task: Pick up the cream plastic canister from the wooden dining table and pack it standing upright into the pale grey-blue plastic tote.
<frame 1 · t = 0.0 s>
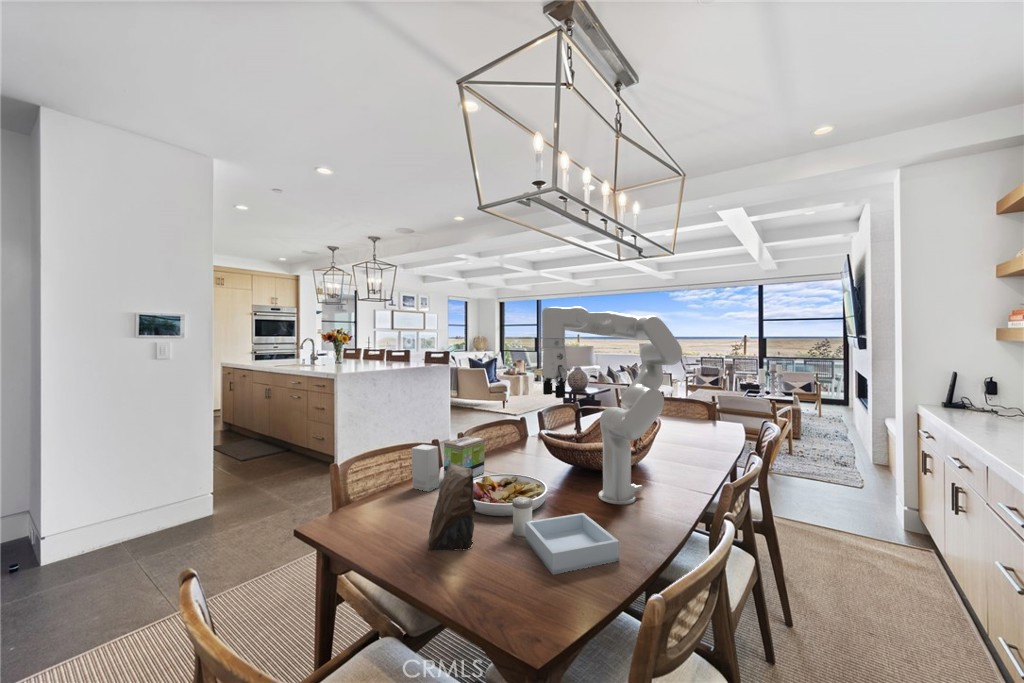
hand: (553, 396, 135), 37 cm above the table, tool pointing down, fingers open, 9 cm apart
tea box: (464, 476, 168), on the table
owl: (449, 542, 112), on the table
canister: (522, 531, 118), on the table
tote: (569, 550, 107), on the table
bowl: (503, 502, 141), on the table
skincare box: (425, 488, 154), on the table
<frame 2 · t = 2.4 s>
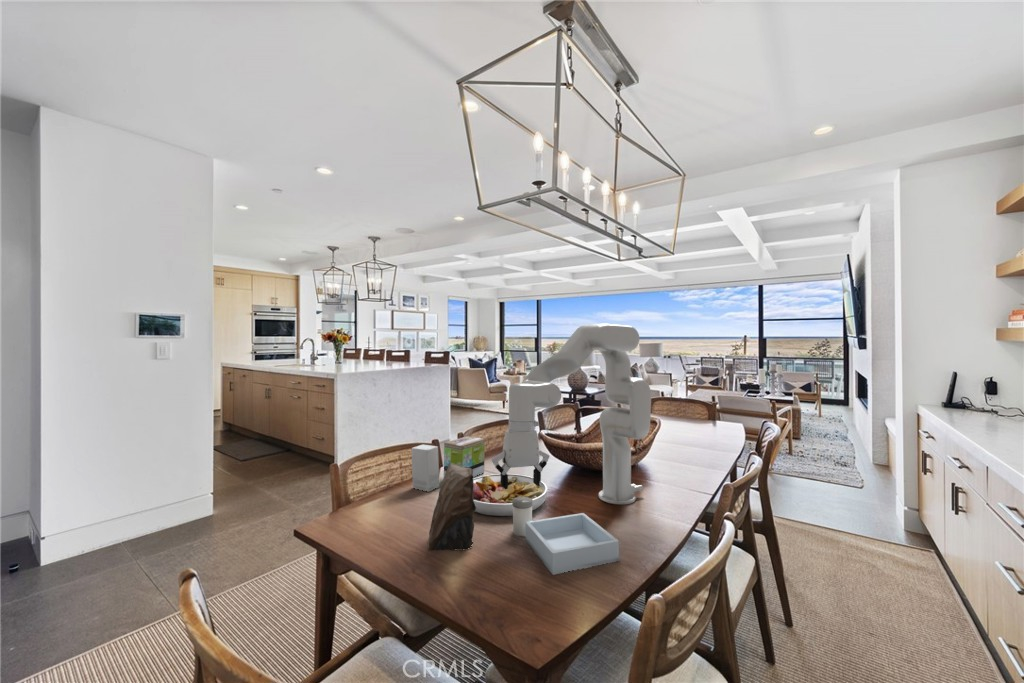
hand: (520, 486, 117), 13 cm above the table, tool pointing down, fingers open, 9 cm apart
nothing on the table moved.
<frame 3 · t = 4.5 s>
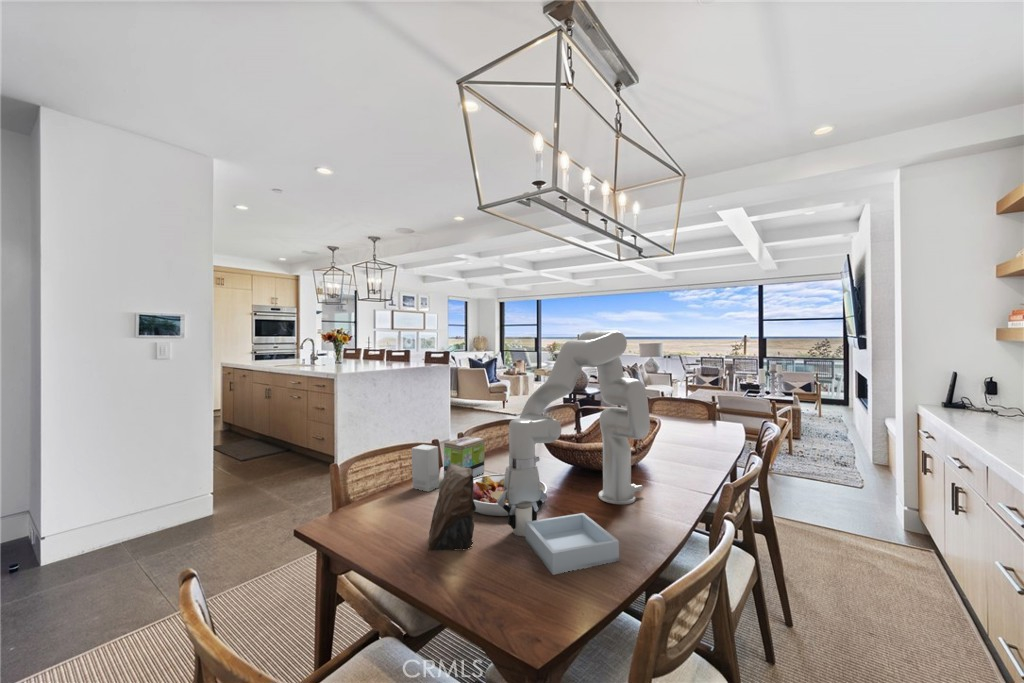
hand: (522, 524, 118), 2 cm above the table, tool pointing down, fingers closed on canister, 5 cm apart
canister: (522, 531, 118), on the table, touching gripper
everything else where it was.
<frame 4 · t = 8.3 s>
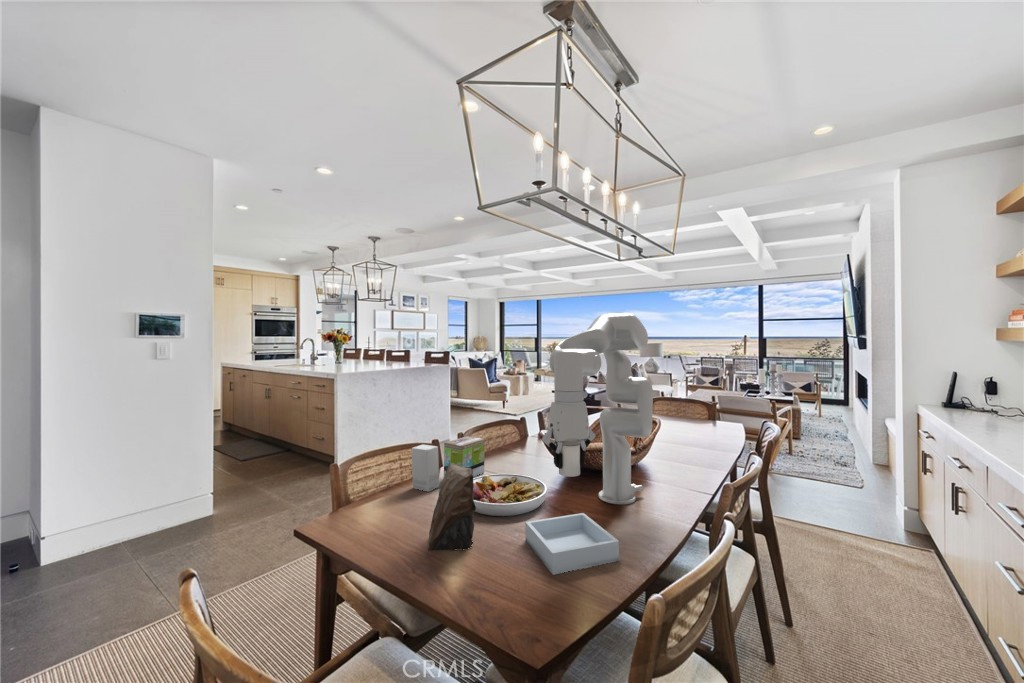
hand: (569, 465, 107), 22 cm above the table, tool pointing down, fingers closed on canister, 5 cm apart
canister: (569, 473, 107), point 20 cm above the table, touching gripper
everything else where it was.
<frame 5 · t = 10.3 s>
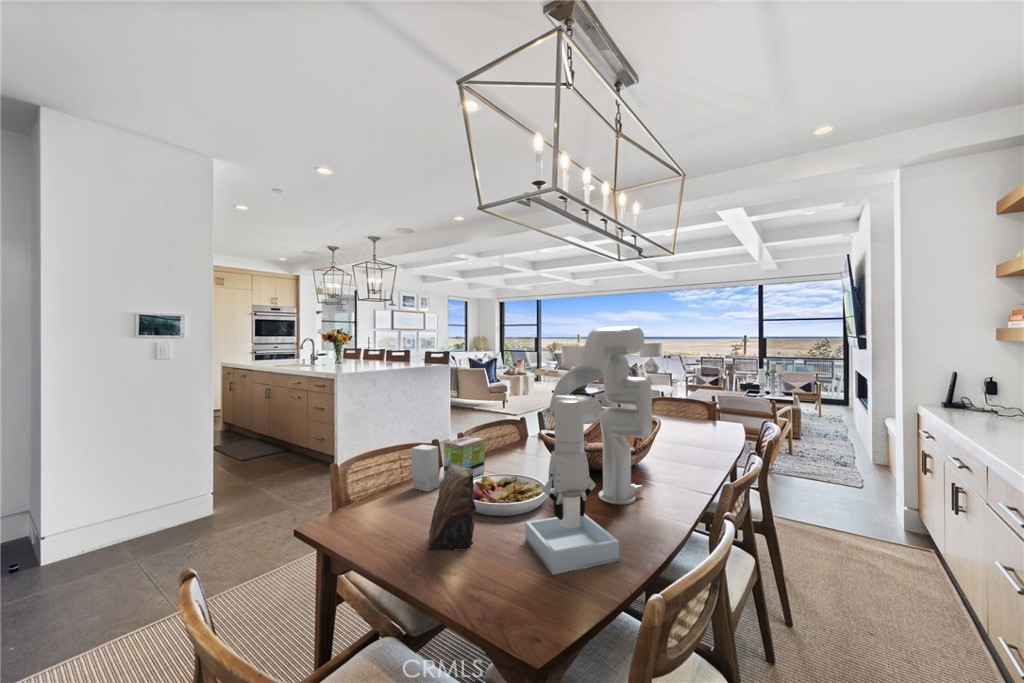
hand: (569, 515, 107), 9 cm above the table, tool pointing down, fingers closed on canister, 5 cm apart
canister: (569, 523, 107), point 7 cm above the table, touching gripper
everything else where it was.
when the fingers open (4 cm above the table, at t = 12.2 s): canister drops 1 cm, resting on tote.
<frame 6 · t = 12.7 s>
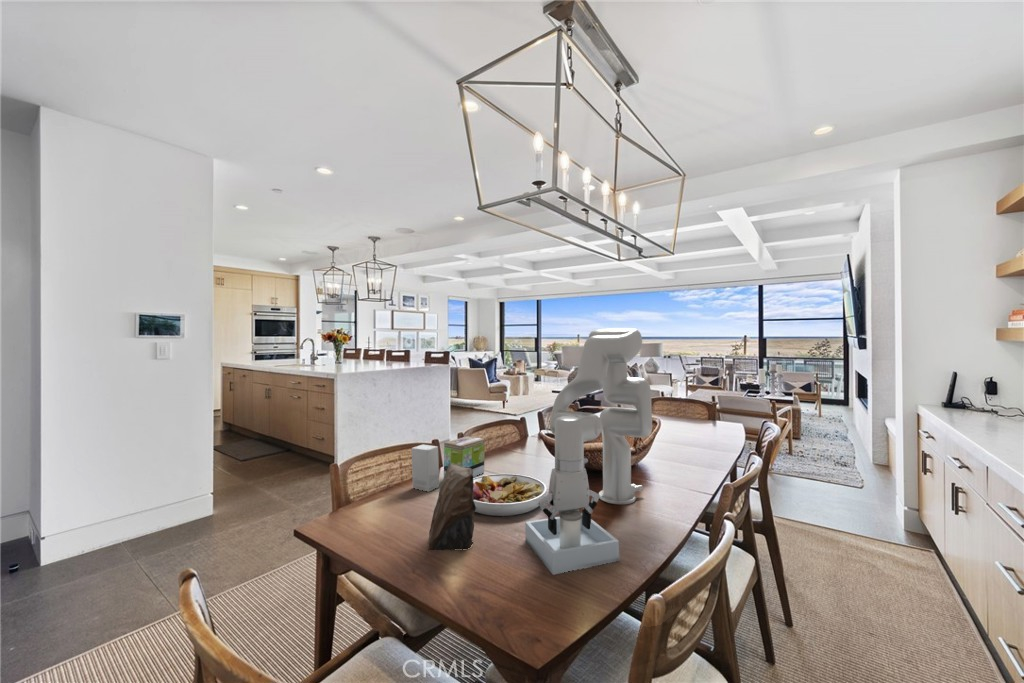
hand: (569, 529, 107), 5 cm above the table, tool pointing down, fingers open, 9 cm apart
canister: (570, 546, 107), point 1 cm above the table, touching tote
everything else where it was.
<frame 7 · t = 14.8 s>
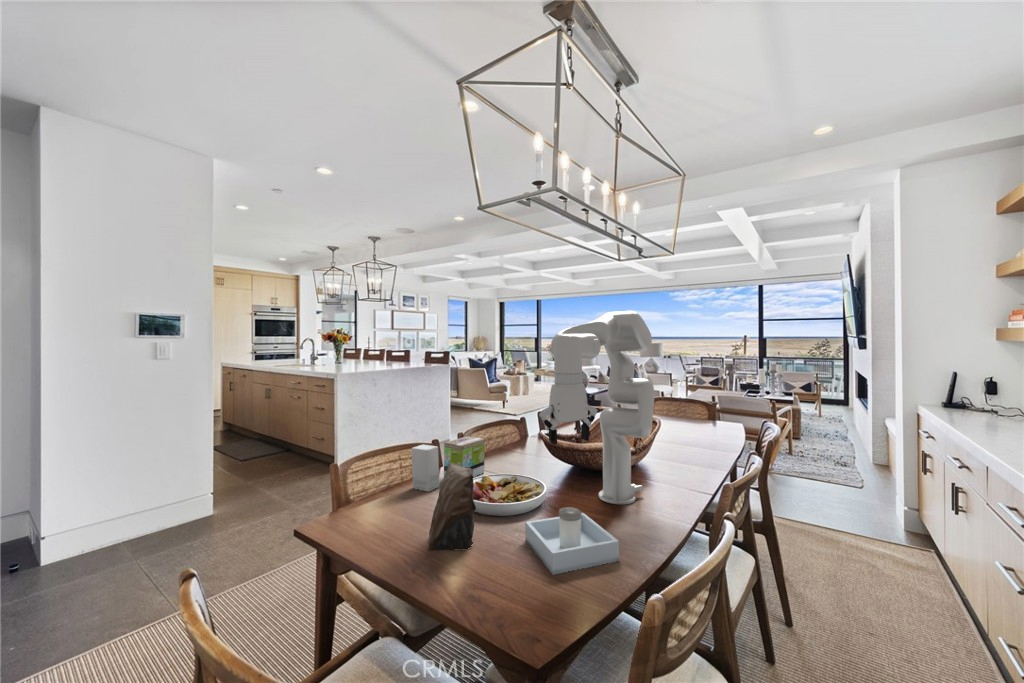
hand: (569, 441, 112), 27 cm above the table, tool pointing down, fingers open, 9 cm apart
nothing on the table moved.
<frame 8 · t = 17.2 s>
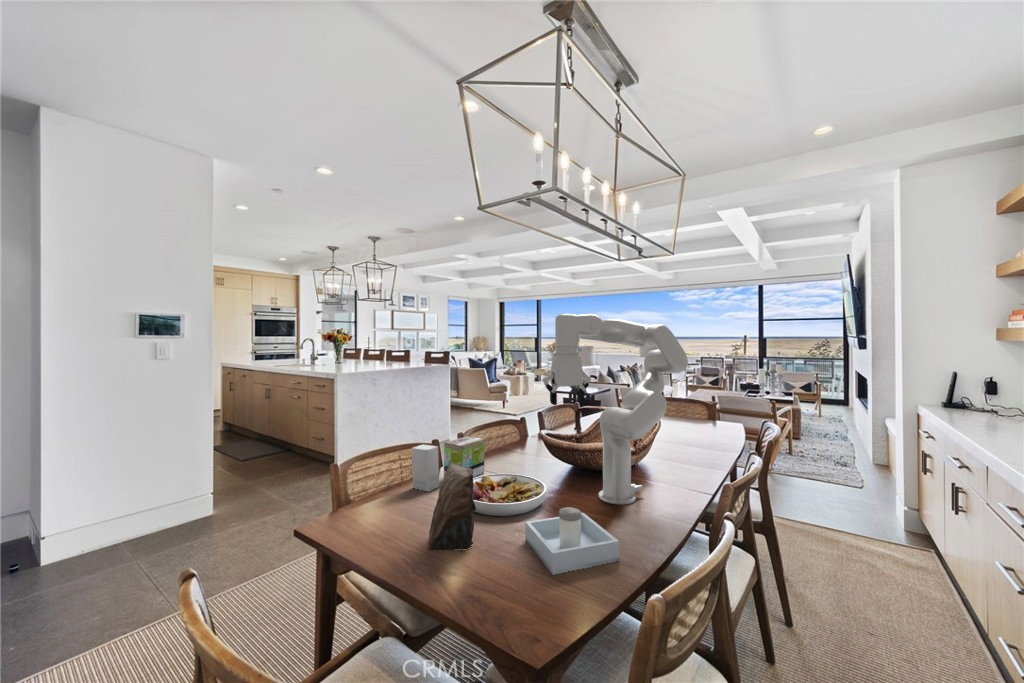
hand: (567, 403, 135), 34 cm above the table, tool pointing down, fingers open, 9 cm apart
nothing on the table moved.
at the end: canister inside the target area on the tote (0.1 cm from its centre), point 1.0 cm above the tote's base; canister tilted 0°; the gripper is holding nothing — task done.
